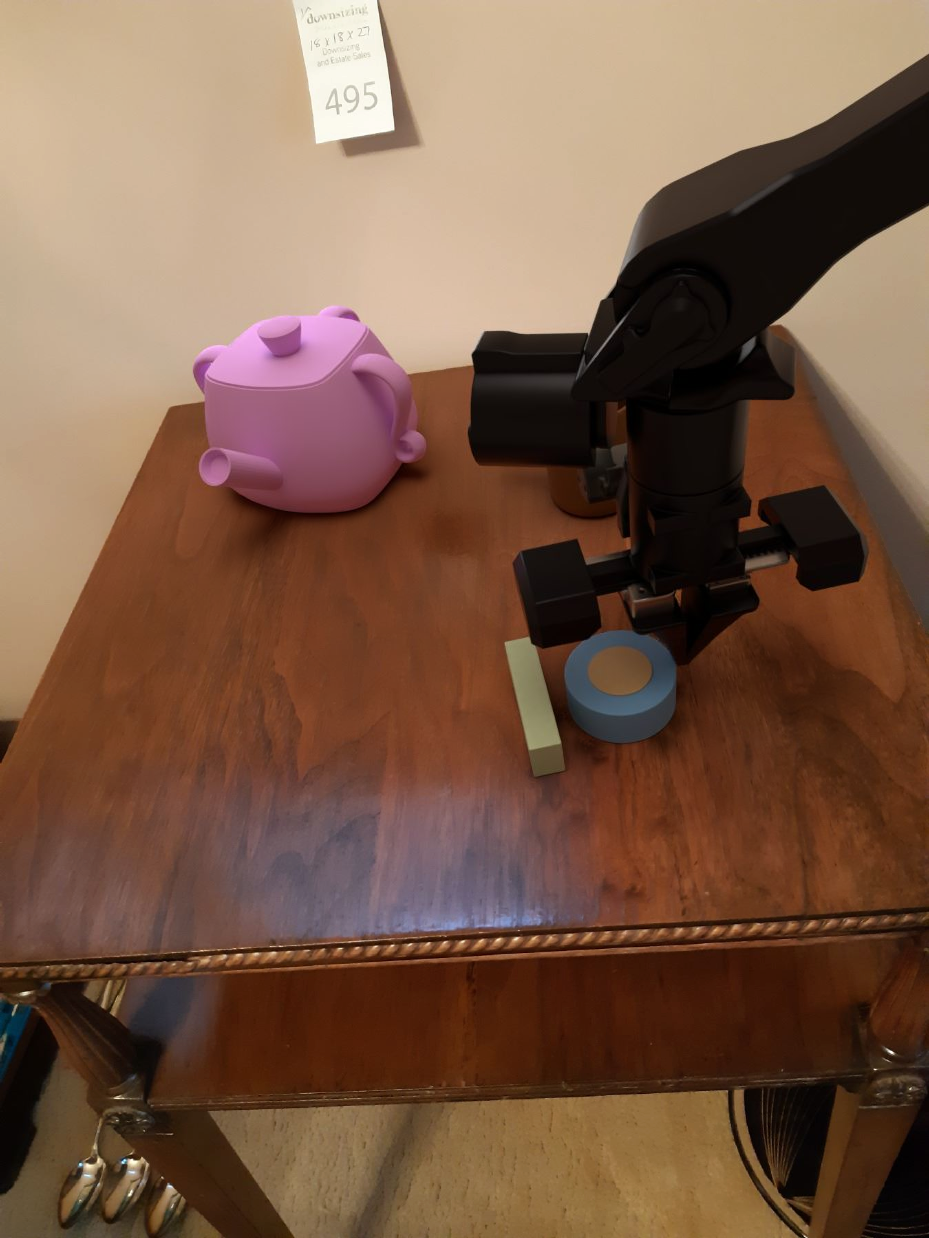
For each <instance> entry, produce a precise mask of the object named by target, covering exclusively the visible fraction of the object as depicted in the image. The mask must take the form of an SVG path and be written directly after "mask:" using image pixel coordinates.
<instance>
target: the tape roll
mask: <svg viewBox="0 0 929 1238" xmlns="http://www.w3.org/2000/svg"><path fill="white" fill-rule="evenodd" d="M563 673H564V685H565V692H566V699H567V700H566V701H567V707H568V711H569V713H570V716H571V718H572V719H573V721H574V722H575V724H576V725H577V726H578V727H579V728H580V729H581V730H582V731H583V732H585V733H586V734H587V735H589V736H591V737H593V738H595V739H598V740H600V741H603V742H607V743H612V744H630V743H631V744H632V743H637V742H640V741H644V740H646V739H649V738H650V737H651V738H652V737H653V736H655V735H656V734H658V733H659V732H660V731H662V730H663V729H664V728H665V727H666V726H667V725H668V723H669V722H670V721H671V719H672V717H673V715H674V713H675V710H676V705H677V665H676V663H675V661H674V659H673V657H672V656H671V654H670V652H669V650H668V648H667V647H666V646H665V645H664V644H663V643H662V642H661V641H660V640H658V639H656V638H654V637H652V636H651V635H649V634H648V635H638V634H636V633H635V632H634V631H633V630H624V629H623V630H621V629H619V630H609V631H604V632H600V633H598V634H594V635H593V636H591V637H590V638H589V639H588V640H583V641H581V642H580V644H578V645H577V646H576V647H575V648H574V649H573V650H572V651H571V653H570V654H569V656H568V658H567V660H566V663H565V666H564V672H563Z"/></svg>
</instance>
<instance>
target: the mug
mask: <svg viewBox="0 0 929 1238" xmlns="http://www.w3.org/2000/svg"><path fill="white" fill-rule="evenodd" d="M625 443H627V433H626V406H625V399H624V400H622V401H619V402H618V413H617V425H616V433H615V438H614V443H613V446H616V445H620V444H625ZM613 446H612V447H613ZM546 472H547V473H546V474H547V480H548V487H549V492H550V495H551V498H552V500H553V501H554V503H555V504H556V505H557V506H558V507H559V508H560V509H561V510H563V511H564V512H567V513H569V514H571V515H574V516H578V517H583V518H584V517H585V518H595V517H596V518H597V517H598V518H599V517H603V516H608V515H611V514H612V515H613V514H615V513H617V510H616V503H615V502H613V501H612V500H608V501H603V502H598V503H594V504H588V503H587V502H586V500H585V499H584V497H583V496H582V494H581V491H580V487H579V482H578V475H577V469H564V468H546Z"/></svg>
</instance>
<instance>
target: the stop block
mask: <svg viewBox="0 0 929 1238" xmlns="http://www.w3.org/2000/svg"><path fill="white" fill-rule="evenodd" d="M504 649H505V653H506V659H507V665H508V668H509V673H510V677H511V678H510V679H511V682H512V686H513V690H514V696H515V700H516V704H517V708H518V713H519V717H520V721H521V727H522V730H523V735H524V740H525V744H526V748H527V752H528V756H529V761H530V766H531V770H532V775H533V778H537V777H541V776H546V775H550V774H555V773H560V772H565V771H566V766H565V759H564V752H563V744H562V740H561V736H560V732H559V729H558V723H557V721H556V717H555V714H554V709H553V706H552V703H551V698H550V694H549V691H548V687H547V683H546V679H545V676H544V672H543V668H542V664H541V660H540V657H539V652H538V649H537V646H535V645H533V644H531V641H530V637H529V636H526V637H521V638H517V639H513V640H508V641H505V642H504Z"/></svg>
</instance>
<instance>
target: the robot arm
mask: <svg viewBox="0 0 929 1238" xmlns="http://www.w3.org/2000/svg"><path fill="white" fill-rule="evenodd" d="M928 207H929V53H927V54H925V55H924V56H923V57H921V58H920V59H918V60H917V61H915V62H914V63H912V64H911V65H909V66H908V67H906V68H904V69H903V70H901V71H899V73H897V74H895V75H894V76H892V77H891V78H889V79H887V80H886V81H885V82H883V83H881V84H880V85H878V86H877V87H875V88H874V89H872V90H871V91H869V92H868V93H866V94H864V95H863V96H862V97H860V98H858V99H857V100H856V101H853V102H852V103H851V104H849V105H847V106H846V107H845V108H843V109H841V110H840V111H839V112H837V113H836V114H834V115H833V116H831V117H830V118H828V119H826V120H825V121H822V122H820V123H819V124H816V125H813V126H812V127H810V128H808V129H805V130H803V131H801V132H798V133H797V134H795V135H792V136H790V137H787V138H783V139H779V140H775V141H770V142H767V143H764V144H760V145H756V146H752V147H748V148H745V149H741V150H738V151H736V152H734V153H732V154H729V155H728V156H725V157H722V158H721V159H719V160H716V161H715V162H713V163H710V164H707V165H706V166H704V167H702V168H700V169H698V170H695V171H692V172H691V173H688V174H686V175H685V176H682V177H680V178H678V179H676V180H674V181H672V182H670V183H668V184H666V185H665V186H663V187H661V188H660V190H658V191H656V193H655V194H654V195H652V197H651V198H649V200H648V201H646V202H645V204H644V206H643V207H642V208H641V210H640V212H639V213H638V215H637V218H636V220H635V222H634V225H633V228H632V231H631V235H630V237H629V240H628V244H627V247H626V250H625V253H624V256H623V259H622V261H621V265H620V268H619V272H618V275H617V278H616V282H615V283H614V284H613V285H612V286H611V288H610V290H609V291H608V292H607V294H606V295H605V297H604V298H603V299H601V300H600V301H599V303H598V307H597V309H596V313H595V316H594V318H593V321H592V325H591V328H590V329H589V330H590V331H589V332H554V333H553V332H552V333H521V332H520V333H519V332H514V331H511V330H484V331H483V332H482V333H481V334H480V335H479V338H478V340H477V342H476V344H475V346H474V348H473V350H472V352H471V353H470V354H471V360H472V366H473V367H472V368H473V372H474V373H473V377H472V384H471V390H470V391H471V392H470V403H469V404H470V406H469V407H470V408H469V409H470V410H469V411H470V412H469V414H470V416H469V419H470V423H469V425H468V428H467V438H468V439H467V440H468V445H469V448H470V452H471V455H472V457H473V459H474V462H475V463H476V464H477V465H478V466H479V467H480V466H481V467H499V468H501V467H503V468H532V469H533V468H534V469H535V468H538V469H547V468H564V469H577V475H578V482H579V487H580V491H581V494H582V496H583V497H584V499H585V500H586V502H587V503H588V504H594V503H598V502H603V501H608V500H612V501H613V502H615V503H616V510H617V512H616V526H617V529H618V531H619V533H620V536H621V538H622V539H628V538H630V539H629V540H630V543H629V544H630V548H628V549H623V550H619V551H615V552H610V553H604V554H601V555H596V556H591V557H587V558H585V556H584V554H583V551H582V547H581V545H580V543H579V542H580V541H579V540H578V538H574V539H569V540H564V541H559V542H556V543H550V544H546V545H542V546H537V547H536V546H535V547H532V548H527V549H523V550H519V552H518V553H517V555H516V557H515V558H514V559H513V561H512V563H511V565H512V571H513V577H514V582H515V586H516V591H517V595H518V598H519V601H520V605H521V609H522V613H523V616H524V617H523V618H524V622H525V625H526V628H527V632H528V637H530V641H531V644H533V645H535V646H536V648H537V647H538V648H539V649H541V650H545V649H546V650H547V649H550V648H555V647H559V646H565V645H569V644H573V643H574V644H575V643H578V642H583V641H585V640H588V639H589V638H590V637H592V636H594V635H596V633H597V632H598V631H599V630H600V629H601V628H602V614H601V611H600V609H601V608H600V606H599V605H600V604H599V601H598V597H602V596H607V595H610V594H616V593H618V597H619V599H620V601H621V604H622V606H623V609H624V612H625V614H626V617H627V620H628V621H629V625H630V628H631V631H634V632H635V633H636V634H638V635H648V636H649V635H653V636H654V637H655V638H657V640H658V641H659V642H660V643H661V644H662V645H664V646H665V647H666V649H667V650H668V651H669V652H670V654H671V656H672V657H673V659H674V662H675V665H676V667H684V666H688V665H690V664H691V663H692V662H693V661H694V660H695V659H696V658H697V657H698V656H699V655H700V654H701V653H702V651H704V650H705V648H707V647H708V646H709V645H710V644H711V642H713V641H714V640H715V639H716V638H717V637H718V636H720V634H721V633H723V632H724V631H725V630H726V629H728V628H729V627H730V626H731V625H733V624H734V623H735V622H737V620H739V619H740V618H741V617H742V616H744V615H746V614H750V613H754V612H756V611H757V610H758V609H759V607H760V604H761V603H760V602H761V598H760V597H759V595H758V593H757V591H756V589H755V587H754V586H753V584H752V581H751V580H752V577H751V575H750V574H753V573H754V572H756V571H761V570H766V569H771V568H775V567H780V566H785V565H788V564H789V563H790V562H791V557H792V558H793V560H794V563H795V564H796V565H797V566H796V571H795V579H796V580H797V582H798V584H799V585H800V586H802V587H804V588H805V589H807V590H809V591H811V592H816V591H822V590H827V589H830V588H835V587H841V586H844V585H850V584H854V583H855V584H856V583H859V582H860V581H861V579H862V577H863V575H865V570H866V566H867V563H868V558H869V555H870V548H869V544H868V539H867V536H866V534H865V533H864V531H863V530H862V528H861V527H860V526H859V524H858V523H857V522H856V520H855V519H854V517H853V516H852V515H851V514H850V512H849V511H848V510H847V508H846V507H845V506H844V505H845V504H843V502H842V501H841V500H840V499H839V497H838V496H837V494H836V493H835V492H834V491H833V490H831V489H830V488H829V487H828V486H827V485H826V484H822V485H817V486H813V487H808V488H803V489H799V490H794V491H790V492H789V491H788V492H785V493H781V494H780V493H779V494H776V495H771V496H766V497H764V498H761V499H759V500H758V505H757V513H756V514H757V516H758V517H759V519H760V521H762V522H763V523H765V524H766V525H764V526H759V527H755V528H751V529H745V530H741V531H740V522H741V519H745V518H749V517H751V514H752V503H753V500H752V498H751V496H750V495H749V493H748V491H747V490H746V489H745V486H744V478H745V477H744V475H745V466H746V465H745V464H746V453H747V444H748V443H747V441H748V429H749V418H750V409H751V401H789V400H790V399H792V398H793V397H795V394H796V380H797V379H796V378H797V377H796V374H797V349H796V347H794V346H793V345H792V344H790V343H788V342H787V341H785V339H783V338H781V337H779V336H777V335H776V334H774V332H773V331H772V330H771V329H770V326H771V325H773V324H775V322H777V321H778V320H780V319H781V318H782V317H784V316H785V315H787V313H789V312H790V311H791V310H792V309H793V308H795V306H796V305H797V304H798V303H799V302H800V301H801V300H802V299H803V298H804V297H805V296H806V295H807V294H808V293H809V292H810V290H812V289H813V288H814V286H816V284H817V283H818V282H819V281H821V280H822V278H823V277H824V276H825V275H826V274H827V273H828V272H829V271H830V270H831V269H832V268H833V267H834V266H835V265H836V264H837V263H838V262H839V261H841V260H842V259H844V258H845V257H846V256H848V255H849V254H851V252H853V251H855V249H857V248H858V247H859V246H861V245H862V244H864V243H866V241H868V240H869V239H871V238H873V237H875V236H877V235H878V234H881V233H882V232H884V231H886V230H888V229H890V228H891V227H894V226H895V225H897V224H898V223H900V222H902V221H904V220H906V219H908V218H910V217H911V216H913V215H915V214H917V213H918V212H920V211H922V210H924V209H926V208H928ZM624 399H625V406H626V433H627V443H625V444H620V445H616V446H613V443H614V438H615V433H616V425H617V413H618V402H619V401H622V400H624ZM612 446H613V447H612ZM678 590H681V592H680V600H679V601H678V599H677V597H676V593H677V591H678Z"/></svg>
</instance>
